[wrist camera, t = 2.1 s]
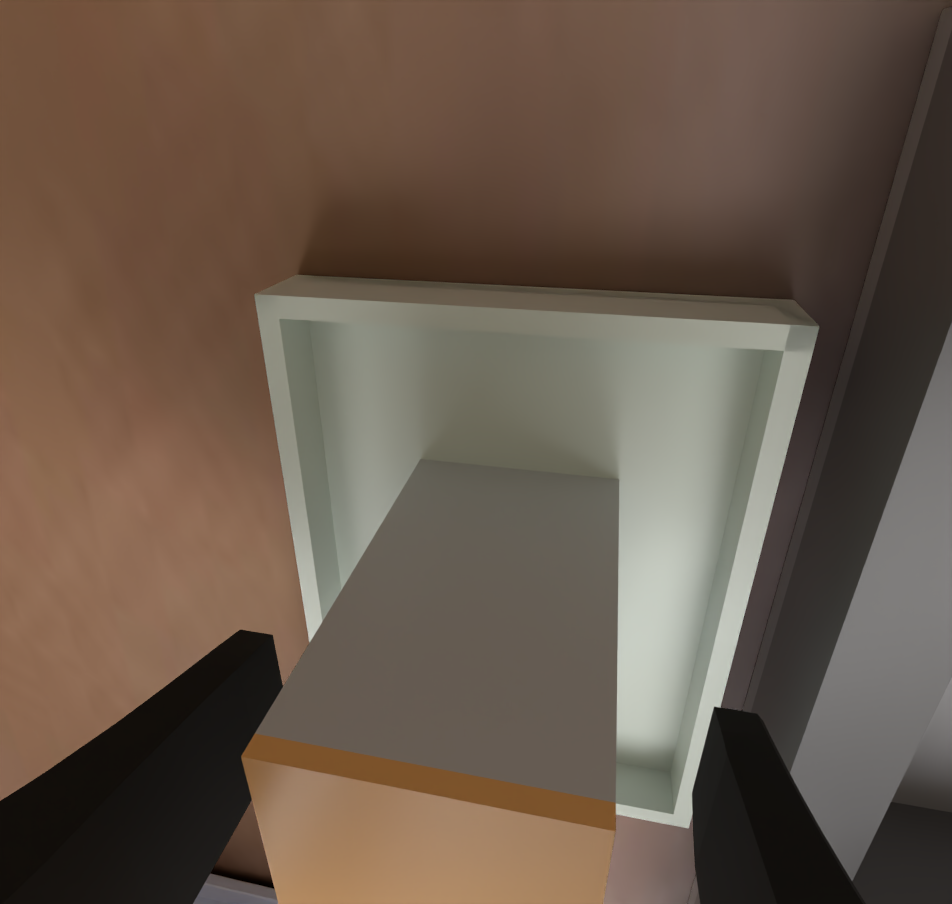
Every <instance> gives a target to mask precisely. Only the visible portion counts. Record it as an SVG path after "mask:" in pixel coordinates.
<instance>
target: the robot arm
mask: <svg viewBox="0 0 952 904" xmlns="http://www.w3.org/2000/svg"><path fill="white" fill-rule="evenodd" d="M282 688H283V685H282V680H281V675H280V670H279V665H278V660H277V655H276V650H275V645H274V640H273V635H270V634H264V633H257V632H251V631H245V630H239V631H238V632H236V633H235V634H234V635H232V636H231V637H230V638H228V639H227V640H226V641H224V642H223V643H222V644H220V645H219V646H218V647H216V648H215V649H214V650H212V651H211V652H210V653H209V654H207V655H206V656H205V657H203V658H202V659H201V660H199V661H198V662H197V663H196V664H194V665H193V666H192V667H190V668H189V669H188V670H186V671H185V672H184V673H182V674H181V675H180V676H179V677H177V678H176V679H175V680H173V681H172V682H171V683H169V684H168V685H167V686H165V687H164V688H163V689H161V690H160V691H159V692H157V693H156V694H155V695H153V696H152V697H151V698H149V699H148V700H147V701H145V702H144V703H143V704H141V705H140V706H139V707H137V708H136V709H135V710H133V711H132V712H131V713H129V714H128V715H127V716H125V717H124V718H123V719H121V720H120V721H118V722H117V723H116V724H114V725H113V726H111V727H110V728H109V729H107V730H106V731H104V732H103V733H101V734H100V735H99V736H97V737H96V738H94V739H93V740H91V741H90V742H88V743H87V744H86V745H84V746H83V747H81V748H80V749H78V750H77V751H75V752H74V753H73V754H71V755H70V756H68V757H67V758H65V759H64V760H62V761H61V762H60V763H58V764H57V765H55V766H54V767H52V768H51V769H49V770H48V771H46V772H45V773H43V774H42V775H40V776H39V777H37V778H36V779H34V780H33V781H31V782H30V783H28V784H27V785H25V786H23V787H22V788H20V789H19V790H17V791H15V792H14V793H12V794H11V795H9V796H8V797H6V798H4V799H3V800H1V801H0V904H278V900H277V896H276V892H275V889H274V888H269V887H265V886H261V885H257V884H252V883H248V882H244V881H240V880H236V879H231V878H227V877H223V876H219V875H215V874H210V873H211V871H212V869H213V868H214V866H215V864H216V862H217V860H218V859H219V857H220V855H221V853H222V852H223V850H224V848H225V846H226V845H227V843H228V841H229V839H230V838H231V836H232V834H233V832H234V830H235V829H236V827H237V825H238V823H239V822H240V820H241V818H242V816H243V814H244V813H245V811H246V809H247V807H248V805H249V804H250V802H251V800H252V798H251V794H250V790H249V786H248V782H247V778H246V774H245V770H244V767H243V763H242V759H241V756H242V754H243V752H244V751H245V749H246V747H247V746H248V744H249V743H250V741H251V739H252V738H253V736H254V734H255V733H256V731H257V729H258V728H259V726H260V724H261V723H262V721H263V719H264V718H265V716H266V714H267V713H268V711H269V709H270V708H271V706H272V704H273V703H274V701H275V699H276V698H277V696H278V694H279V693H280V691H281V689H282ZM692 811H693V836H694V856H695V870H696V877H697V885H698V892H699V899H700V904H866V903H865V902H864V900H863V898H862V897H861V895H860V894H859V892H858V890H857V889H856V887H855V886H854V884H853V882H852V881H851V879H850V877H849V876H848V874H847V872H846V871H845V869H844V867H843V866H842V864H841V862H840V861H839V859H838V857H837V855H836V854H835V852H834V850H833V849H832V847H831V845H830V844H829V842H828V840H827V839H826V837H825V835H824V834H823V832H822V830H821V829H820V827H819V825H818V823H817V822H816V820H815V818H814V816H813V815H812V813H811V811H810V809H809V807H808V806H807V804H806V802H805V800H804V798H803V796H802V795H801V793H800V791H799V789H798V787H797V786H796V784H795V782H794V780H793V778H792V776H791V774H790V773H789V771H788V769H787V767H786V765H785V763H784V761H783V759H782V757H781V755H780V753H779V752H778V750H777V748H776V746H775V744H774V742H773V740H772V738H771V736H770V734H769V732H768V730H767V728H766V725H765V723H764V721H763V720H762V719H761V718H760V716H759V715H758V714H756V713H750V712H744V711H738V710H732V709H726V708H719V707H714V709H713V713H712V716H711V720H710V724H709V728H708V732H707V736H706V740H705V744H704V748H703V752H702V755H701V759H700V763H699V767H698V771H697V775H696V779H695V783H694V787H693V791H692Z"/></svg>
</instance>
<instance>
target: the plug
mask: <svg viewBox="0 0 952 904" xmlns="http://www.w3.org/2000/svg"><path fill="white" fill-rule="evenodd" d="M618 557H619V479H610V478H601V477H591V476H581V475H571V474H561V473H552V472H542V471H532V470H522V469H513V468H503V467H493V466H483V465H474V464H464V463H454V462H444V461H434V460H425V459H420V461H419V462H418V464H417V465H416V467H415V469H414V470H413V472H412V474H411V475H410V477H409V479H408V480H407V482H406V484H405V485H404V487H403V489H402V490H401V492H400V494H399V495H398V497H397V499H396V500H395V502H394V504H393V505H392V507H391V509H390V510H389V512H388V514H387V515H386V517H385V519H384V520H383V522H382V524H381V525H380V527H379V529H378V530H377V532H376V533H375V535H374V537H373V538H372V540H371V542H370V543H369V545H368V547H367V548H366V550H365V552H364V553H363V555H362V557H361V558H360V560H359V562H358V563H357V565H356V567H355V568H354V570H353V572H352V573H351V575H350V577H349V578H348V580H347V582H346V583H345V585H344V587H343V588H342V590H341V592H340V593H339V595H338V597H337V598H336V600H335V602H334V603H333V605H332V606H331V608H330V610H329V611H328V613H327V615H326V616H325V618H324V620H323V621H322V623H321V625H320V626H319V628H318V630H317V631H316V633H315V635H314V636H313V638H312V640H311V641H310V643H309V645H308V646H307V648H306V650H305V651H304V653H303V655H302V656H301V658H300V660H299V661H298V663H297V665H296V666H295V668H294V670H293V671H292V673H291V674H290V676H289V678H288V679H287V681H286V683H285V684H284V686H283V688H282V689H281V691H280V693H279V694H278V696H277V698H276V699H275V701H274V703H273V704H272V706H271V708H270V709H269V711H268V713H267V714H266V716H265V718H264V719H263V721H262V723H261V724H260V726H259V728H258V729H257V731H256V733H255V734H254V736H253V738H252V739H251V741H250V743H249V744H248V746H247V747H246V749H245V751H244V752H243V754H242V756H241V759H242V763H243V767H244V770H245V774H246V778H247V782H248V786H249V790H250V794H251V798H252V802H253V806H254V810H255V814H256V818H257V822H258V825H259V829H260V833H261V837H262V841H263V845H264V849H265V853H266V857H267V861H268V865H269V869H270V873H271V877H272V880H273V884H274V888H275V892H276V896H277V900H278V904H603V901H604V895H605V889H606V883H607V878H608V872H609V866H610V860H611V855H612V849H613V843H614V837H615V832H616V742H617V649H618Z"/></svg>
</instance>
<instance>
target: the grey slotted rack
mask: <svg viewBox="0 0 952 904" xmlns="http://www.w3.org/2000/svg"><path fill="white" fill-rule="evenodd" d="M742 711H744V712H750V713H756V714H758V715H759V716H760V718H761V719H762V720H763V721H764V723H765V725H766V728H767V730H768V732H769V734H770V736H771V738H772V740H773V742H774V744H775V746H776V748H777V750H778V752H779V753H780V755H781V757H782V759H783V761H784V763H785V765H786V767H787V769H788V771H789V773H790V774H791V776H792V778H793V780H794V782H795V784H796V786H797V787H798V789H799V791H800V793H801V795H802V796H803V798H804V800H805V802H806V804H807V806H808V807H809V809H810V811H811V813H812V815H813V816H814V818H815V820H816V822H817V823H818V825H819V827H820V829H821V830H822V832H823V834H824V835H825V837H826V839H827V840H828V842H829V844H830V845H831V847H832V849H833V850H834V852H835V854H836V855H837V857H838V859H839V861H840V862H841V864H842V866H843V867H844V869H845V871H846V872H847V874H848V876H849V877H850V879H851V881H852V882H853V884H854V886H855V887H856V889H857V890H858V892H859V894H860V895H861V897H862V898H863V900H864V902H865V903H866V904H952V7H949V8H946V9H943V10H942V12H941V16H940V19H939V23H938V26H937V30H936V33H935V37H934V40H933V44H932V48H931V51H930V55H929V58H928V62H927V65H926V69H925V72H924V76H923V79H922V83H921V86H920V90H919V93H918V97H917V100H916V104H915V107H914V111H913V114H912V118H911V121H910V125H909V128H908V132H907V135H906V139H905V142H904V146H903V149H902V153H901V156H900V160H899V163H898V167H897V170H896V174H895V177H894V181H893V184H892V188H891V191H890V195H889V198H888V202H887V205H886V209H885V212H884V216H883V219H882V223H881V226H880V230H879V233H878V237H877V240H876V244H875V247H874V251H873V254H872V258H871V261H870V265H869V268H868V272H867V275H866V279H865V283H864V286H863V290H862V293H861V297H860V300H859V304H858V307H857V311H856V314H855V318H854V321H853V325H852V328H851V332H850V335H849V339H848V342H847V346H846V349H845V353H844V356H843V360H842V363H841V367H840V370H839V374H838V377H837V381H836V384H835V388H834V391H833V395H832V398H831V402H830V405H829V409H828V412H827V416H826V419H825V423H824V426H823V430H822V433H821V437H820V440H819V444H818V447H817V451H816V454H815V458H814V461H813V465H812V468H811V472H810V475H809V479H808V482H807V486H806V489H805V493H804V496H803V500H802V503H801V507H800V510H799V514H798V518H797V521H796V525H795V528H794V532H793V535H792V539H791V542H790V546H789V549H788V553H787V556H786V560H785V563H784V567H783V570H782V574H781V577H780V581H779V584H778V588H777V591H776V595H775V598H774V602H773V605H772V609H771V612H770V616H769V619H768V623H767V626H766V630H765V633H764V637H763V640H762V644H761V647H760V651H759V654H758V658H757V661H756V665H755V668H754V672H753V675H752V679H751V682H750V686H749V689H748V693H747V696H746V700H745V703H744V707H743V710H742ZM687 904H700V899H699V892H698V885H697V877H696V875H695V879H694V882H693V886H692V889H691V893H690V896H689V900H688V903H687Z"/></svg>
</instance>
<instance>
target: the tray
mask: <svg viewBox="0 0 952 904" xmlns="http://www.w3.org/2000/svg"><path fill="white" fill-rule="evenodd" d="M254 296H255V303H256V309H257V315H258V322H259V328H260V334H261V340H262V347H263V353H264V359H265V366H266V372H267V378H268V384H269V391H270V397H271V403H272V410H273V416H274V422H275V429H276V435H277V441H278V447H279V454H280V460H281V466H282V473H283V479H284V485H285V492H286V498H287V504H288V510H289V517H290V523H291V529H292V536H293V542H294V548H295V555H296V561H297V567H298V573H299V580H300V586H301V592H302V599H303V605H304V611H305V618H306V624H307V630H308V636H309V643H310V641H311V640H312V638H313V636H314V635H315V633H316V631H317V630H318V628H319V626H320V625H321V623H322V621H323V620H324V618H325V616H326V615H327V613H328V611H329V610H330V608H331V606H332V605H333V603H334V602H335V600H336V598H337V597H338V595H339V593H340V592H341V590H342V588H343V587H344V585H345V583H346V582H347V580H348V578H349V577H350V575H351V573H352V572H353V570H354V568H355V567H356V565H357V563H358V562H359V560H360V558H361V557H362V555H363V553H364V552H365V550H366V548H367V547H368V545H369V543H370V542H371V540H372V538H373V537H374V535H375V533H376V532H377V530H378V529H379V527H380V525H381V524H382V522H383V520H384V519H385V517H386V515H387V514H388V512H389V510H390V509H391V507H392V505H393V504H394V502H395V500H396V499H397V497H398V495H399V494H400V492H401V490H402V489H403V487H404V485H405V484H406V482H407V480H408V479H409V477H410V475H411V474H412V472H413V470H414V469H415V467H416V465H417V464H418V462H419V461H420V459H425V460H434V461H444V462H454V463H464V464H474V465H483V466H493V467H503V468H513V469H522V470H532V471H542V472H552V473H561V474H571V475H581V476H591V477H601V478H610V479H619V557H618V649H617V742H616V814H617V815H622V816H627V817H632V818H637V819H642V820H648V821H653V822H658V823H663V824H668V825H673V826H678V827H683V828H689V825H690V821H691V818H692V814H693V811H692V791H693V787H694V783H695V779H696V775H697V771H698V767H699V763H700V759H701V755H702V752H703V748H704V744H705V740H706V736H707V732H708V728H709V724H710V720H711V716H712V713H713V709H714V707H719V708H720V706H721V703H722V699H723V695H724V691H725V687H726V683H727V680H728V676H729V672H730V668H731V664H732V660H733V657H734V653H735V649H736V645H737V641H738V637H739V634H740V630H741V626H742V622H743V618H744V614H745V611H746V607H747V603H748V599H749V595H750V591H751V588H752V584H753V580H754V576H755V572H756V568H757V565H758V561H759V557H760V553H761V549H762V545H763V542H764V538H765V534H766V530H767V526H768V522H769V519H770V515H771V511H772V507H773V503H774V499H775V496H776V492H777V488H778V484H779V480H780V476H781V473H782V469H783V465H784V461H785V457H786V454H787V450H788V446H789V442H790V438H791V434H792V431H793V427H794V423H795V419H796V415H797V411H798V408H799V404H800V400H801V396H802V392H803V388H804V385H805V381H806V377H807V373H808V369H809V365H810V362H811V358H812V354H813V350H814V346H815V342H816V339H817V335H818V331H819V327H820V326H819V325H818V324H817V323H816V322H815V321H814V320H813V319H812V318H811V317H810V316H809V315H808V314H807V313H806V312H805V311H804V310H803V309H802V308H801V307H800V306H799V305H798V304H797V303H796V301H795V300H788V299H768V298H748V297H728V296H708V295H688V294H669V293H649V292H629V291H609V290H589V289H569V288H550V287H530V286H510V285H490V284H470V283H450V282H430V281H411V280H391V279H371V278H351V277H331V276H311V275H295V276H292V277H290V278H288V279H286V280H284V281H282V282H279V283H277V284H275V285H273V286H271V287H269V288H267V289H264V290H262V291H260V292H258V293H256V294H254Z"/></svg>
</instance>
